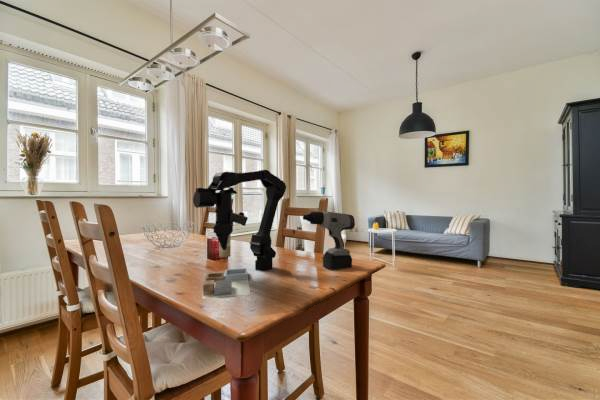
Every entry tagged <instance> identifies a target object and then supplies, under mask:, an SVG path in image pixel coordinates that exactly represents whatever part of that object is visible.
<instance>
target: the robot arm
mask: <svg viewBox="0 0 600 400" xmlns="http://www.w3.org/2000/svg"><path fill="white" fill-rule="evenodd" d="M212 177H213V178H212V181H211V183H210V184H209V185H208V186H207V188H205V187H195V191H194V194H193V197H192V202H193V206H194V207H195V208H196V209H197V208H198V209H199V208H213V207H214V206H215V210H214V211H215V225H213V227H212V228H213V233H214V234H215V236H216V238H217V240H218V243H219V242H220V244H221V247H222V249H223V250H226V248H227V242H228V236H229V235H230V234H232V233H233V231H234V223H236V224H238V225H241V226H243V227H246V224H247V222H248V219H249V216H246V215H245V213H244V212H242V211H240V212H239V213H236V212H234V210H233V206H232V205H233V201H232V200H233V199H232V198H233V197H232V195H234V194H235V195H236V194H238V192H237V191H236V190H235V189H234V186H237V185H239V184H241V183H248V182H252V181H253V182H255V181H260V182H261V184H262V186H263V187H264V188H265V194H266V202H265V205H264V210H263V213H262V218H261V221H260V223H259V228H258V231H257V232H256V233H255V234H253V233H252V235H251V237H250V238H251V240H250V241H249V247H250V250H251V252H252V253H253V256H254V257H256V260H255V261H254V264H255V266H254V267H255V268H254V270H255V271H260V272H262V271H263V272H266V271H271V270H273V259H274V258H276V255H277V251H275V250H274V249H273V248H272V237H271V231H272V227H273V223H274V219H275V217H276V212H277V209H278V206H279V205H278V204H279V201H281V199H282V198H283V197H284V195H285V193H286V190H287V184H286V183H285V182H284V180H281V178H279V177H278V176H277V175H275V174H273V173H272V172H271V171H269V170H268V169H260V170H258V171H249V172H248V171H246V172H233V171H221V172H217V173H215V174H214V175H213V176H212ZM226 188H227V189H226Z"/></svg>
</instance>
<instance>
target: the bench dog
mask: <svg viewBox="0 0 600 400" xmlns="http://www.w3.org/2000/svg"><path fill="white" fill-rule="evenodd" d="M202 285H203V286H202V293H203V295H211V294H214V280H208V281H206V280H204V281H203V284H202ZM203 295H202V296H203Z"/></svg>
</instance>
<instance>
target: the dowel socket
mask: <svg viewBox="0 0 600 400" xmlns="http://www.w3.org/2000/svg"><path fill="white" fill-rule="evenodd" d="M224 274H225V271H223V272H209V273H207V274H206V277H205V281H208V280H214V282H216V281H219V280H224Z"/></svg>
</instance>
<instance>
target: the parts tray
mask: <svg viewBox="0 0 600 400" xmlns="http://www.w3.org/2000/svg"><path fill="white" fill-rule="evenodd" d="M224 274H225V280H231V279H232V281H237V280H248V281H249V274H248V268H247V267H245V268H244V267H243V268H231V269H230V268H229V269H225V271H224Z"/></svg>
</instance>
